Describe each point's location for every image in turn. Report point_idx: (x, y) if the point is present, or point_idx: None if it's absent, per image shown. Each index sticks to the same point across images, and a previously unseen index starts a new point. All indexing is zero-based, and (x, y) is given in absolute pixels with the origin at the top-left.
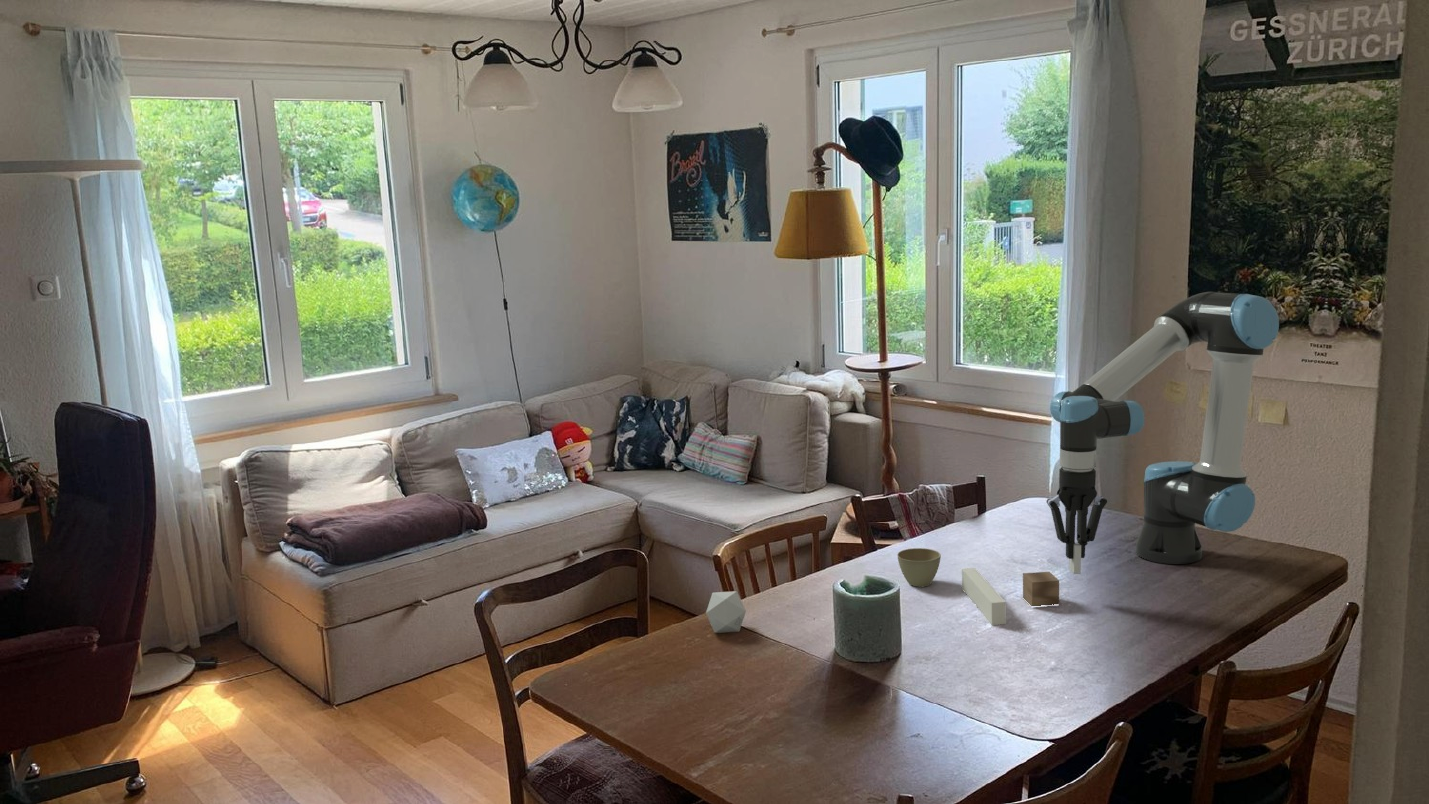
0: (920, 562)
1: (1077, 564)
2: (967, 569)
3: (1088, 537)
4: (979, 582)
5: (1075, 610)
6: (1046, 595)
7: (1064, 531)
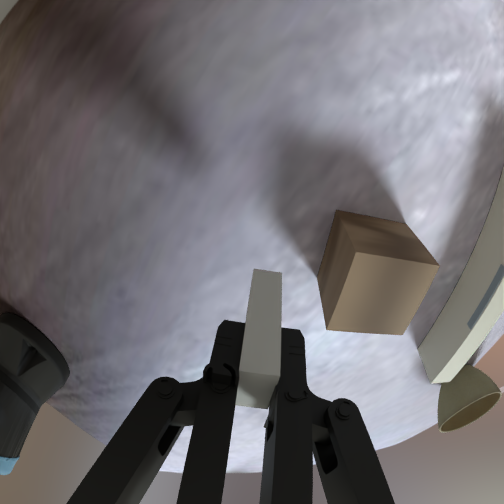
0: (496, 390)
1: (266, 297)
2: (446, 378)
3: (180, 404)
4: (492, 316)
5: (310, 163)
6: (382, 233)
7: (346, 461)
